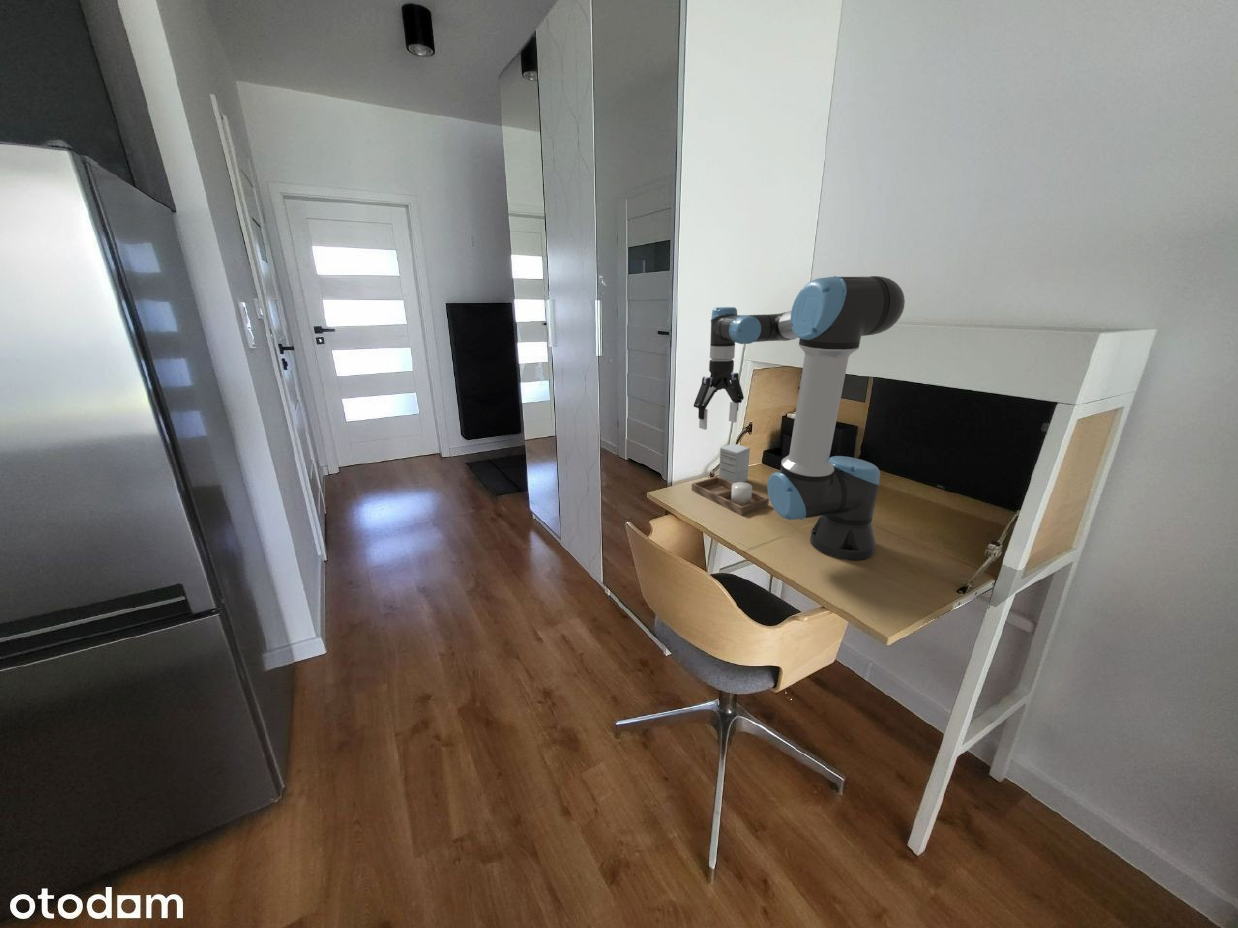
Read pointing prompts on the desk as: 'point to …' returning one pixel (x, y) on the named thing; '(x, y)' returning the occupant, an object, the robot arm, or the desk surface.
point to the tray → (727, 495)
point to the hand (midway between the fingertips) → (718, 425)
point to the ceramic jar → (741, 493)
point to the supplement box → (734, 463)
